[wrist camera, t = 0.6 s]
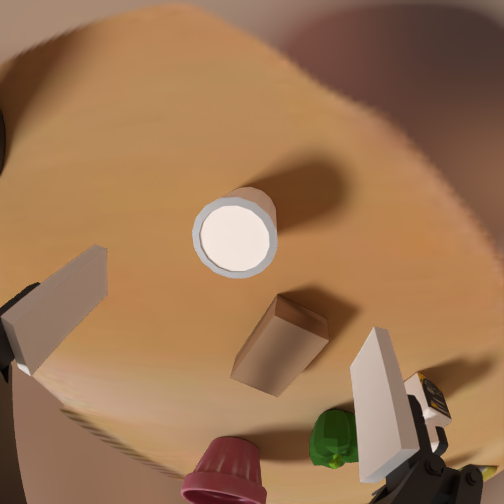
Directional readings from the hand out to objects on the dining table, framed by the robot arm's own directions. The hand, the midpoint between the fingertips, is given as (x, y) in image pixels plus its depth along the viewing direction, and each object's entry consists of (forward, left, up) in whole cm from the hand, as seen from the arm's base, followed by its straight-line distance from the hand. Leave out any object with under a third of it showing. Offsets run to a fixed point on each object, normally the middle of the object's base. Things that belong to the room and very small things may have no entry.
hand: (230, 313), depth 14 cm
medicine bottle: (+31, -13, -18) cm, 39 cm away
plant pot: (+15, -42, -18) cm, 49 cm away
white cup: (-2, -1, -18) cm, 18 cm away
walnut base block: (+8, -13, -17) cm, 24 cm away
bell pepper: (+24, -23, -18) cm, 38 cm away
